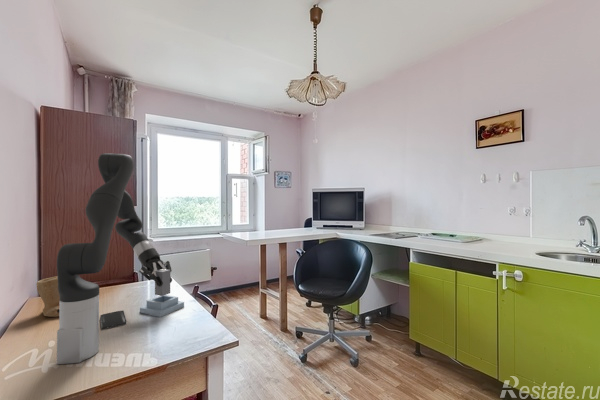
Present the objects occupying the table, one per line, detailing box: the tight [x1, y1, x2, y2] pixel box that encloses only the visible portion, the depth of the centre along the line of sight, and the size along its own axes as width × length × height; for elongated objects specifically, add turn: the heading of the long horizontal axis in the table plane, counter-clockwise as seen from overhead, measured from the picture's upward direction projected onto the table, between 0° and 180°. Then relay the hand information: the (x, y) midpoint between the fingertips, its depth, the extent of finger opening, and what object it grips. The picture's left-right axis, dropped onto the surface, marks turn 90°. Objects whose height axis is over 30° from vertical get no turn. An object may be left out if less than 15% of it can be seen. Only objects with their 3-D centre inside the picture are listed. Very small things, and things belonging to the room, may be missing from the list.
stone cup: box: [36, 275, 60, 318], centre depth 113 cm, size 15×12×15 cm
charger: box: [154, 269, 171, 296], centre depth 116 cm, size 4×4×10 cm
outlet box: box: [139, 294, 185, 318], centre depth 116 cm, size 12×12×4 cm
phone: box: [99, 310, 128, 331], centre depth 105 cm, size 8×1×15 cm
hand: (165, 283), depth 115 cm, fingers closed on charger, 4 cm apart
